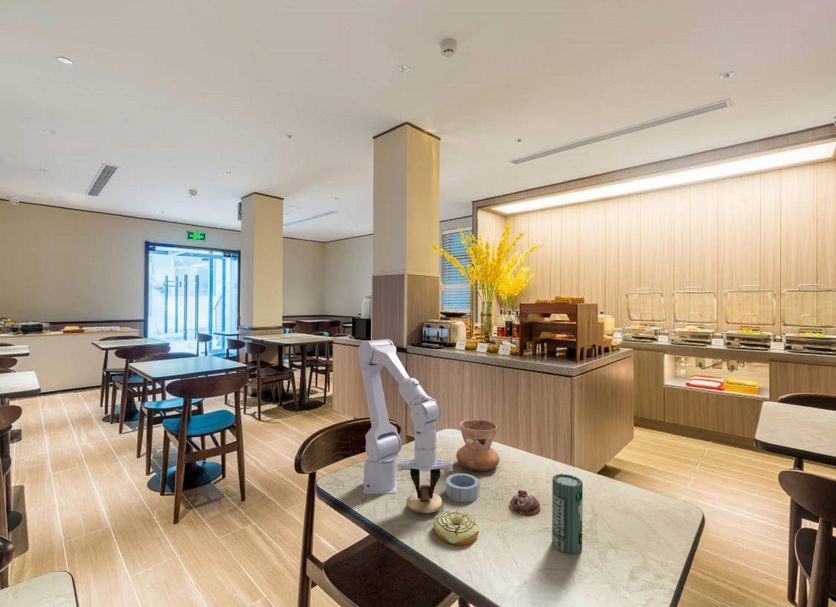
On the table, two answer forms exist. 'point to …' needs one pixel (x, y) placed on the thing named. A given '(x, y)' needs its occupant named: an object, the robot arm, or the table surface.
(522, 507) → the pastry
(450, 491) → the bowl
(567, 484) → the can
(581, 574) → the table surface
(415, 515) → the rubber mat
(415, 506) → the bamboo lid
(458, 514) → the decorated donut
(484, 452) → the ceramic jug
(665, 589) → the table surface
